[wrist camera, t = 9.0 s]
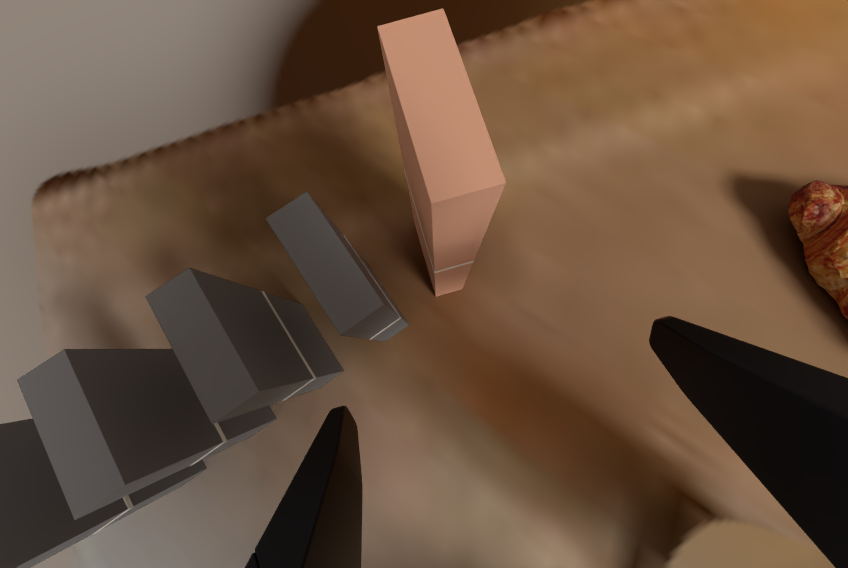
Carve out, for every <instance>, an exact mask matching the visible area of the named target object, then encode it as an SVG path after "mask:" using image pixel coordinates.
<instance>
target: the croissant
mask: <svg viewBox="0 0 848 568" xmlns="http://www.w3.org/2000/svg"><path fill="white" fill-rule="evenodd" d="M789 207H790V209H789V210H788V214H789V218H790V220H791V222H792V224H793V226H794V227H795V229H796V231H797V235H798V236H799V239H800V240H801V241H802V242H803V243H804V255H805V257H806V259H805V261H806V263H807V265H808V268H809V273H810V274H811V275H812V276H813V277H814V278H815V281H816V283H817V284H818V285H820V286H821V287H823V288H824V289H825V290H826V291H827V292H828V294H830V295H831V296H832V297H833V298H834V299H835V300H836V301H837V303H838V305H839V308H840V310H841V313H842V314H843V315H844V316H845V318H846V319H847V320H848V186H843V185H830V184H827V183H824V182H821V181H813V182H811V183H809V184H807V185H805V186H803V187H802V188H801V189H799V190H798V191H797V192H795V193H794V194H793V195H792V198H791V201H790V204H789Z"/></svg>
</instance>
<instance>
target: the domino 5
mask: <svg viewBox="0 0 848 568" xmlns="http://www.w3.org/2000/svg"><path fill="white" fill-rule="evenodd" d="M378 32H379V38H380V43H381V48H382V54H383V59H384V64H385V69H386V75H387V80H388V85H389V91H390V96H391V101H392V106H393V112H394V117H395V122H396V128H397V133H398V138H399V144H400V149H401V154H402V159H403V165H404V172H405V175H406V181H407V186H408V191H409V197H410V202H411V207H412V212H413V218H414V223H415V227H416V230H417V234H418V237H419V241H420V244H421V248H422V251H423V255H424V258H425V261H426V265H427V268H428V272H429V275H430V279H431V282H432V286H433V289H434V293H435V296H440V295H444V294H447V293H451V292H454V291H458V290H461V289H463V286H464V284H465V281H466V279H467V277H468V274H469V272H470V269H471V267H472V264H473V262H474V261H475V260H474V259H475V257H476V255H477V252H478V250H479V247H480V245H481V242H482V240H483V238H484V235H485V233H486V230H487V228H488V225H489V223H490V221H491V218H492V216H493V213H494V211H495V208H496V206H497V204H498V201H499V199H500V196H501V194H502V191H503V189H504V187H505V184H506V181H505V179H504V176H503V173H502V170H501V167H500V165H499V162H498V159H497V156H496V154H495V151H494V148H493V145H492V142H491V140H490V137H489V134H488V131H487V129H486V126H485V123H484V120H483V117H482V115H481V112H480V109H479V106H478V104H477V101H476V98H475V95H474V92H473V90H472V87H471V84H470V81H469V79H468V76H467V73H466V70H465V67H464V65H463V62H462V59H461V56H460V53H459V51H458V48H457V45H456V42H455V40H454V37H453V34H452V31H451V29H450V26H449V23H448V20H447V17H446V15H445V12H444V9H440V10H436V11H433V12H429V13H425V14H421V15H418V16H414V17H410V18H407V19H403V20H399V21H395V22H392V23H388V24H384V25H381V26H378Z"/></svg>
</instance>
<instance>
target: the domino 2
mask: <svg viewBox="0 0 848 568" xmlns="http://www.w3.org/2000/svg"><path fill="white" fill-rule="evenodd" d="M205 469H206V466H205V464H204V462H203V460H201V461H199V462H197V463H195V464H193V465H191V466H188V467H186V468H184V469H182V470H180V471H178V472H175V473H173V474H171V475H169V476H167V477H165V478H163V479H161V480H159V481H156V482H154V483H152V484H150V485H148V486H146V487H144V488H142V489H140V490H137V491H135V492H133V493H131V494H129V495H127V496H125V497H123V498H121V499H118V500H116V501H114V502H112V503H110V504H108V505H106V506H104V507H102V508H99V509H97V510H95V511H93V512H91V513H89V514H87V515H85V516H83V517H80V518H78V519H76V520H74V517H73V515H72V513H71V510H70V508H69V505H68V503H67V500H66V498H65V496H64V493H63V491H62V488H61V486H60V483H59V481H58V479H57V476H56V474H55V471H54V469H53V466H52V464H51V462H50V459H49V457H48V454H47V452H46V449H45V447H44V444H43V442H42V440H41V437H40V435H39V432H38V430H37V427H36V425H35V423H34V420H33V419H28V420H22V421H17V422H11V423H5V424H0V568H30V567H32V566H34V565H36V564H38V563H40V562H42V561H44V560H45V559H47V558H49V557H51V556H53V555H55V554H57V553H58V552H60V551H62V550H64V549H66V548H68V547H70V546H71V545H73V544H75V543H77V542H79V541H81V540H83V539H84V538H86V537H88V536H90V535H93V534H95V533H97V532H98V531H100V530H101V529H103V528H105V527H107V526H109V525H110V524H112V523H114V522H116V521H118V520H120V519H122V518H123V517H125V516H127V515H129V514H131V513H133V512H134V511H136V510H138V509H140V508H142V507H144V506H146V505H147V504H149V503H151V502H153V501H155V500H157V499H159V498H160V497H162V496H164V495H166V494H168V493H170V492H172V491H173V490H175V489H177V488H179V487H181V486H182V485H184V484H185V483H186V482H188V481H189V480H191V479H192V478H194V477H195V476H196V475H198V474H199V473H201V472H202V471H203V470H205Z"/></svg>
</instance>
